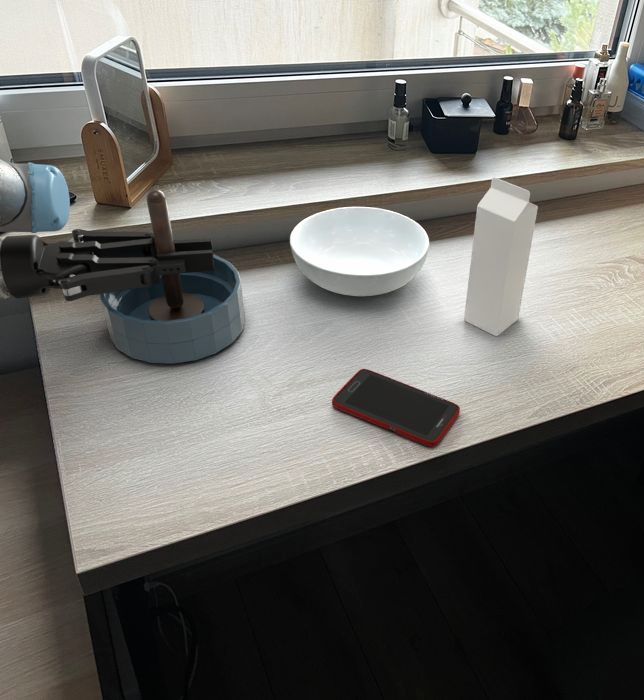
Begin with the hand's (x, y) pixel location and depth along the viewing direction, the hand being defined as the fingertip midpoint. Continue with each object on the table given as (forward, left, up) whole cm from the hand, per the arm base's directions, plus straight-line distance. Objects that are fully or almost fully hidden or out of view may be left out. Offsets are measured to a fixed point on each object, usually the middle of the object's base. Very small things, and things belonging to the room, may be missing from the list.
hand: (212, 254), depth 94 cm
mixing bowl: (-5, +2, -11) cm, 12 cm away
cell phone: (+10, -28, -11) cm, 32 cm away
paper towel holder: (-5, +2, -11) cm, 12 cm away
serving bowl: (+23, 0, -11) cm, 25 cm away
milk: (+33, -20, -11) cm, 40 cm away
